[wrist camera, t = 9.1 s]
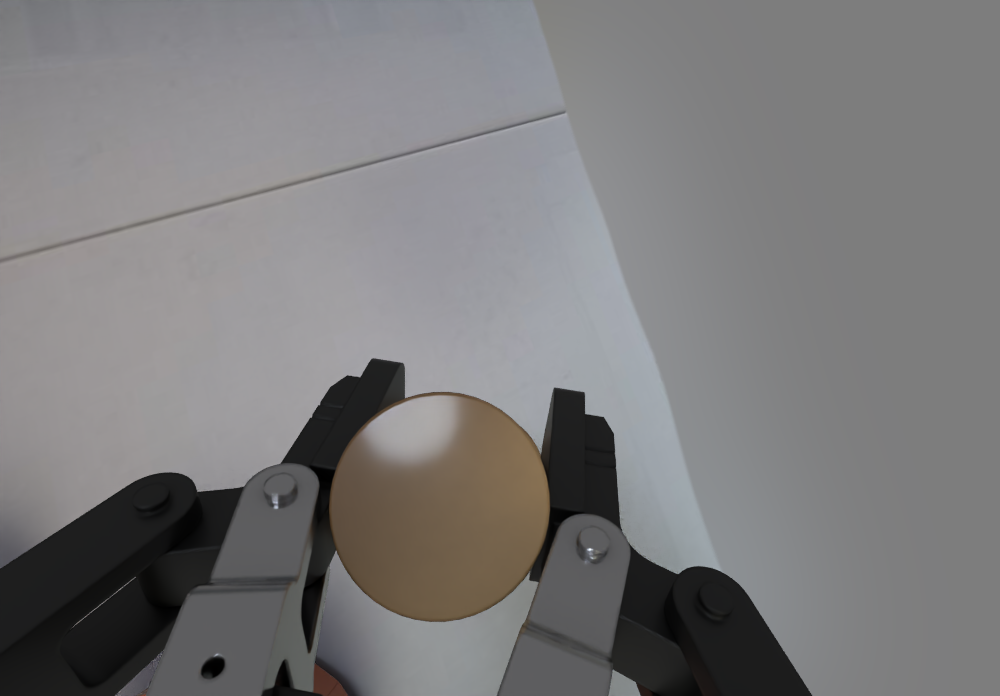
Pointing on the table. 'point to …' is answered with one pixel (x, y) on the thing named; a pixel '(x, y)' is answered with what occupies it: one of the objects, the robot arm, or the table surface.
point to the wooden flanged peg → (439, 506)
